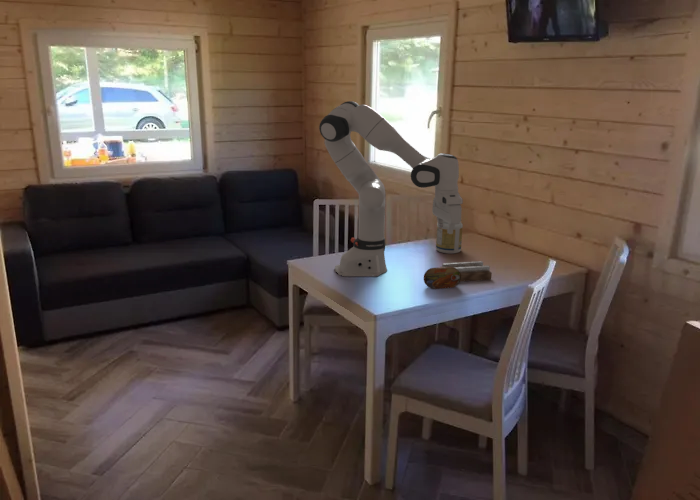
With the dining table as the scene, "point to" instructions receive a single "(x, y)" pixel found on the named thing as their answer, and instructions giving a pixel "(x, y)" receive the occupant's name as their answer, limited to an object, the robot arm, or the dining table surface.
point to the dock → (475, 276)
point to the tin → (442, 277)
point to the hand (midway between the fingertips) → (445, 230)
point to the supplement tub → (449, 239)
